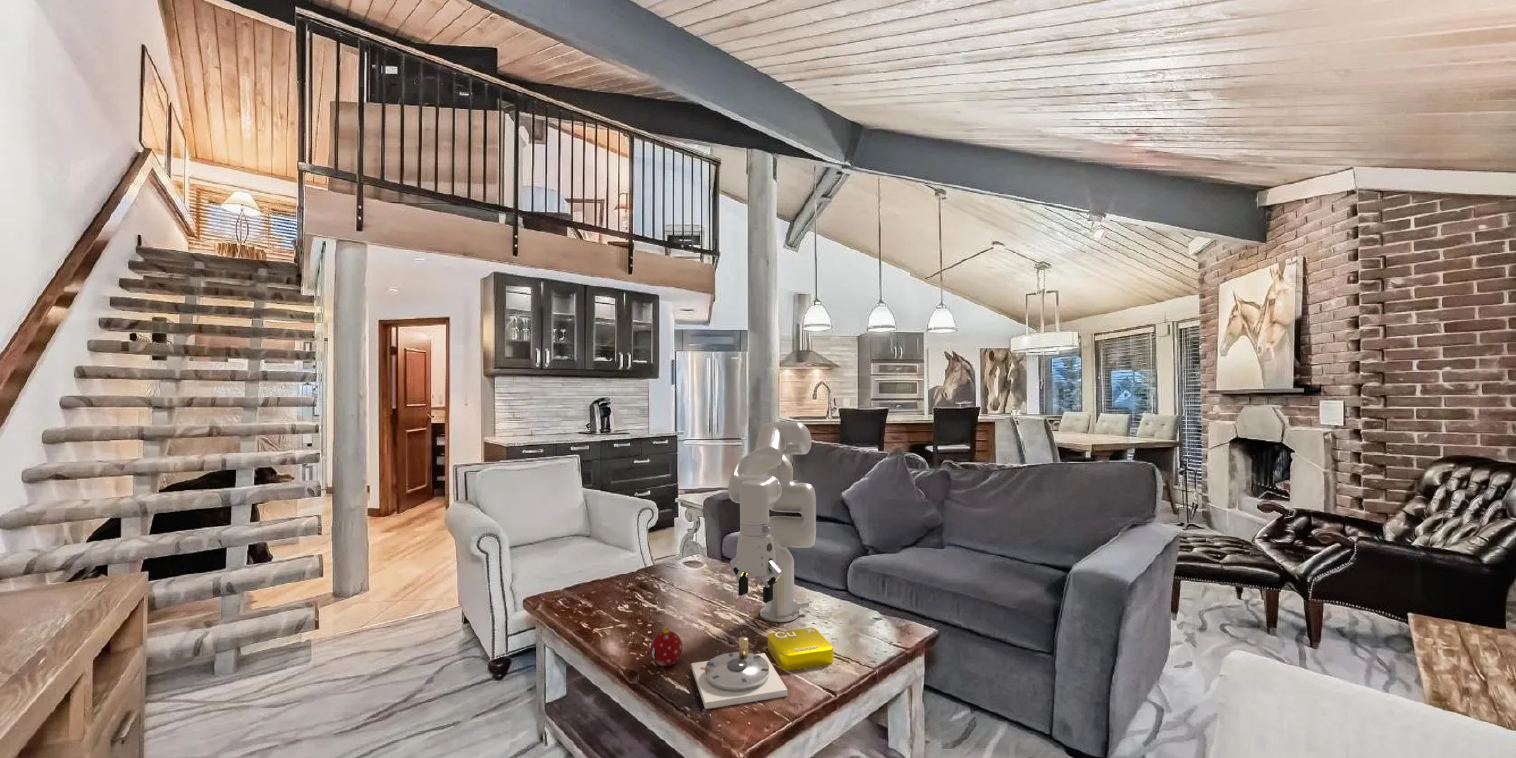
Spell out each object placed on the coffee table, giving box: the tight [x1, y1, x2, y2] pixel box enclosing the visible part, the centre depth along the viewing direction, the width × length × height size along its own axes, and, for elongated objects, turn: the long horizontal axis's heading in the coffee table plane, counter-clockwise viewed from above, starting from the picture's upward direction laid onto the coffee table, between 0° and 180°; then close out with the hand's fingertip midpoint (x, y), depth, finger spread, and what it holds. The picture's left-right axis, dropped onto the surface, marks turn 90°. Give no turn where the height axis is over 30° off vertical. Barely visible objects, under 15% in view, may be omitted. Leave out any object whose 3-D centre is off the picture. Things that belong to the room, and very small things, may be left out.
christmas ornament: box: [649, 626, 683, 667], centre depth 160 cm, size 9×9×10 cm
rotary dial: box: [705, 636, 769, 691], centre depth 150 cm, size 16×16×6 cm
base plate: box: [690, 652, 789, 710], centre depth 150 cm, size 20×20×2 cm
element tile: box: [767, 627, 834, 671], centre depth 165 cm, size 15×15×5 cm
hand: (755, 597), depth 154 cm, fingers open, 7 cm apart
